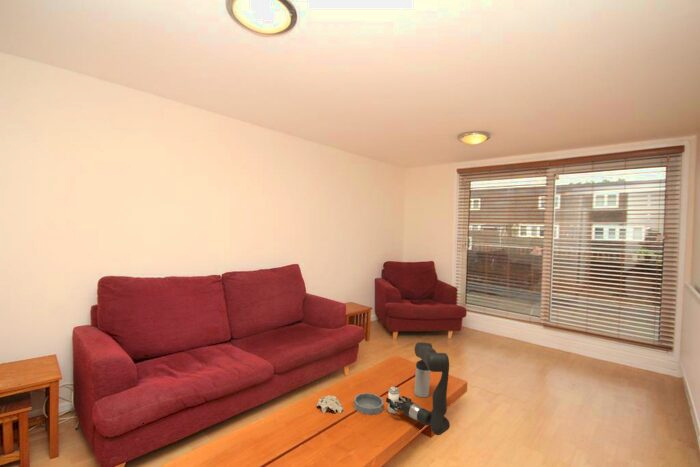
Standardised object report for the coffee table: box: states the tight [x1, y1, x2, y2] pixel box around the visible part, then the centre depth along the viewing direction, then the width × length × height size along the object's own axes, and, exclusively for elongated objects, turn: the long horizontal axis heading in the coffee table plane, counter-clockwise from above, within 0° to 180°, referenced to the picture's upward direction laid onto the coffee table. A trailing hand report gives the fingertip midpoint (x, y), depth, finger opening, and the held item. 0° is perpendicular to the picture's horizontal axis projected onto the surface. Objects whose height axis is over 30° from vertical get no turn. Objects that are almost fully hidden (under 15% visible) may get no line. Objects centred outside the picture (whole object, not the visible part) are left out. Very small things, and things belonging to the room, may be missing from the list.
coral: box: [316, 394, 344, 414], centre depth 190 cm, size 15×12×5 cm
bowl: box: [353, 392, 384, 416], centre depth 194 cm, size 17×17×4 cm
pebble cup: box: [387, 386, 400, 415], centre depth 191 cm, size 6×6×14 cm
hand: (390, 397), depth 192 cm, fingers closed on pebble cup, 6 cm apart
